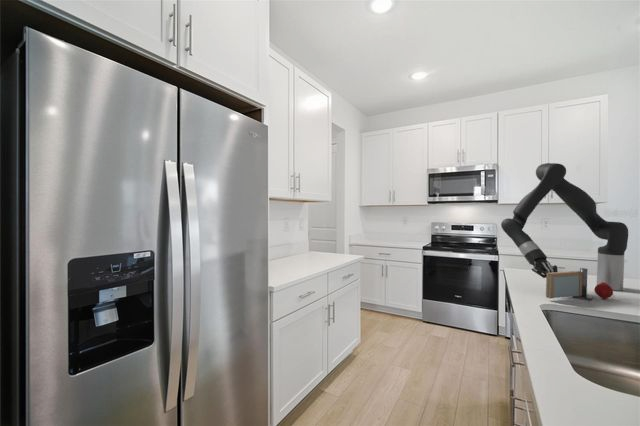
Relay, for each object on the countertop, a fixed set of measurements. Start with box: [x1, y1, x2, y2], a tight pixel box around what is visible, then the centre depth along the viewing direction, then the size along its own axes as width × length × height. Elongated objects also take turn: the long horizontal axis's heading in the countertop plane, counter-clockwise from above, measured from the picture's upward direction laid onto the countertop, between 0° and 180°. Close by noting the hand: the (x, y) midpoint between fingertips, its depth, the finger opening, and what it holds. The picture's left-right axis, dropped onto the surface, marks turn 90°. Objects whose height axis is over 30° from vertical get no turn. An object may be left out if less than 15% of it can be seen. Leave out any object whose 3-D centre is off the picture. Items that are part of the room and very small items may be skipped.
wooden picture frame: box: [545, 270, 583, 299], centre depth 122 cm, size 18×2×11 cm, turn 104°
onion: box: [593, 281, 614, 300], centre depth 123 cm, size 6×6×8 cm
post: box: [572, 267, 594, 302], centre depth 125 cm, size 6×6×13 cm
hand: (558, 285), depth 123 cm, fingers closed
